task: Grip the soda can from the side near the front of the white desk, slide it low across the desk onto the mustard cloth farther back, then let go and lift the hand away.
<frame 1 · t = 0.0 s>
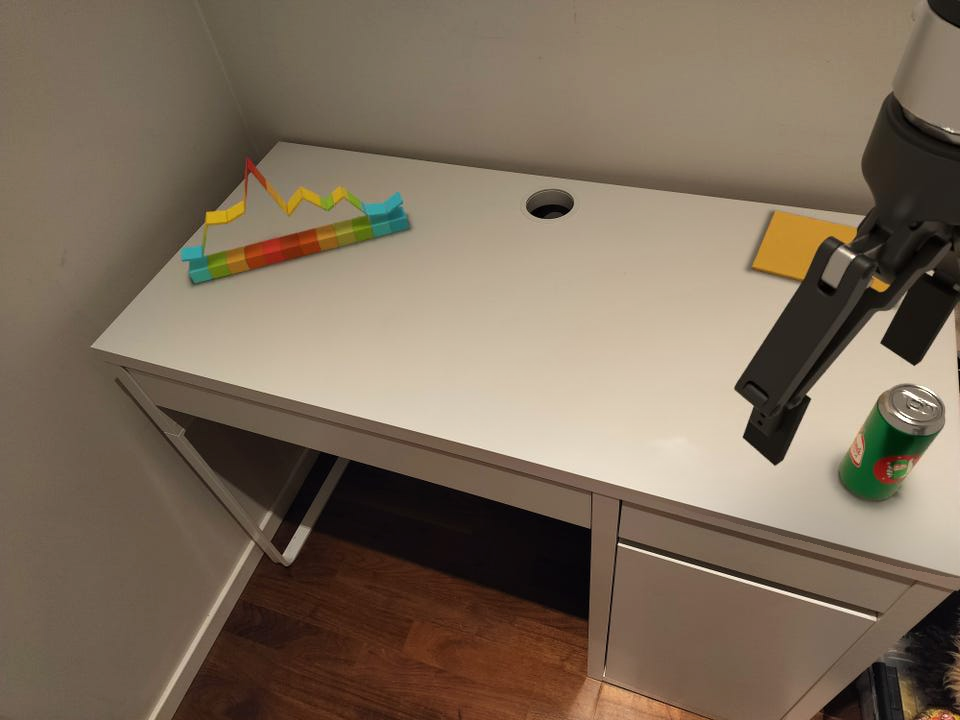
hand: (834, 398, 46), 21 cm above the table, tool pointing down, fingers open, 13 cm apart
cloth: (829, 255, 84), on the table
soda can: (865, 480, 64), on the table
chart: (303, 249, 95), on the table
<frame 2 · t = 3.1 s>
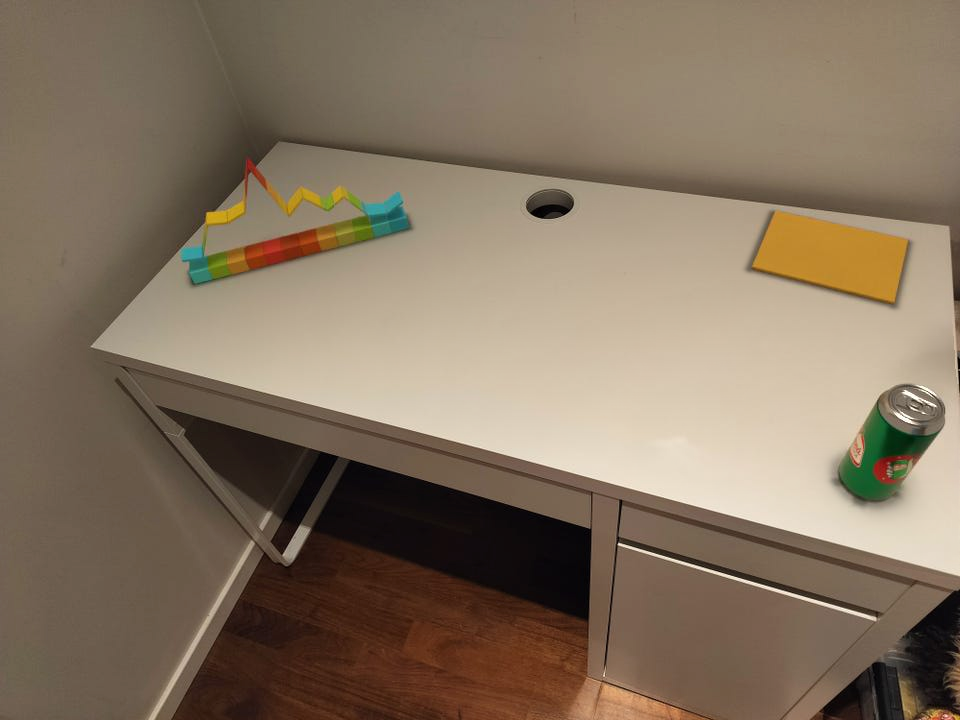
nothing on the table moved.
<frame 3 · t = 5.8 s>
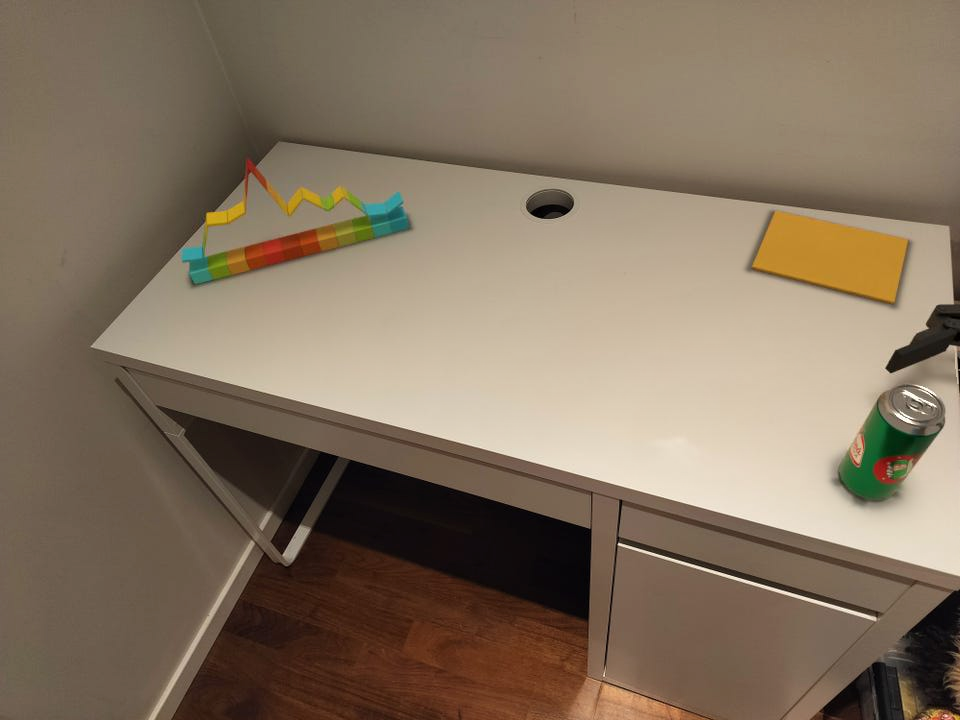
hand: (949, 414, 60), 7 cm above the table, tool horizontal, fingers open, 13 cm apart
nothing on the table moved.
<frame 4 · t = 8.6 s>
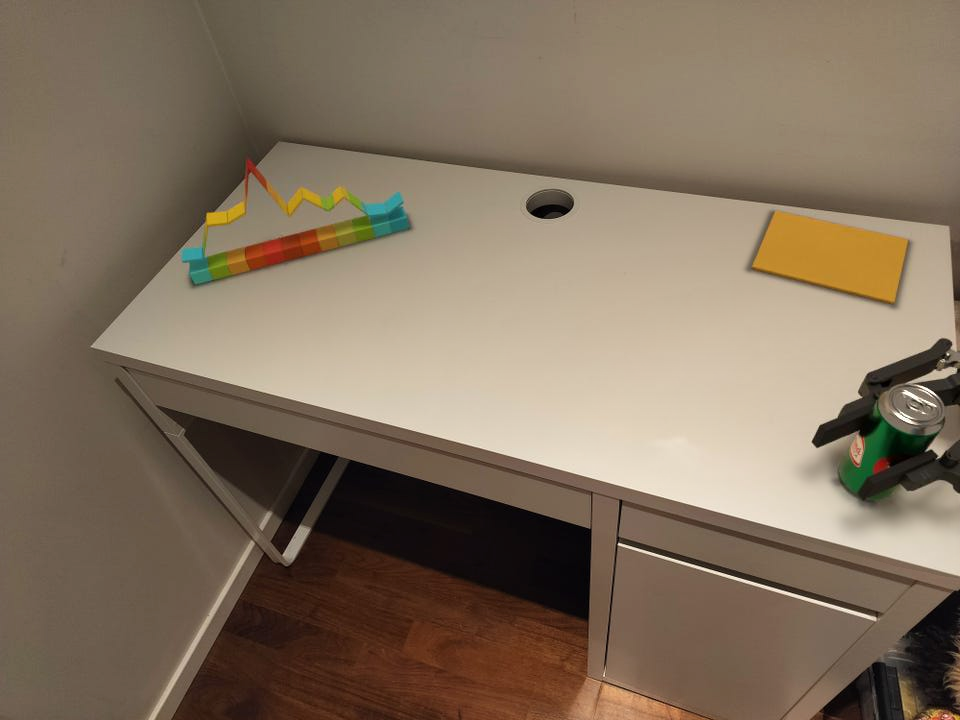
hand: (841, 462, 58), 7 cm above the table, tool horizontal, fingers closed on soda can, 5 cm apart
soda can: (865, 480, 64), on the table, touching gripper
everything else where it was.
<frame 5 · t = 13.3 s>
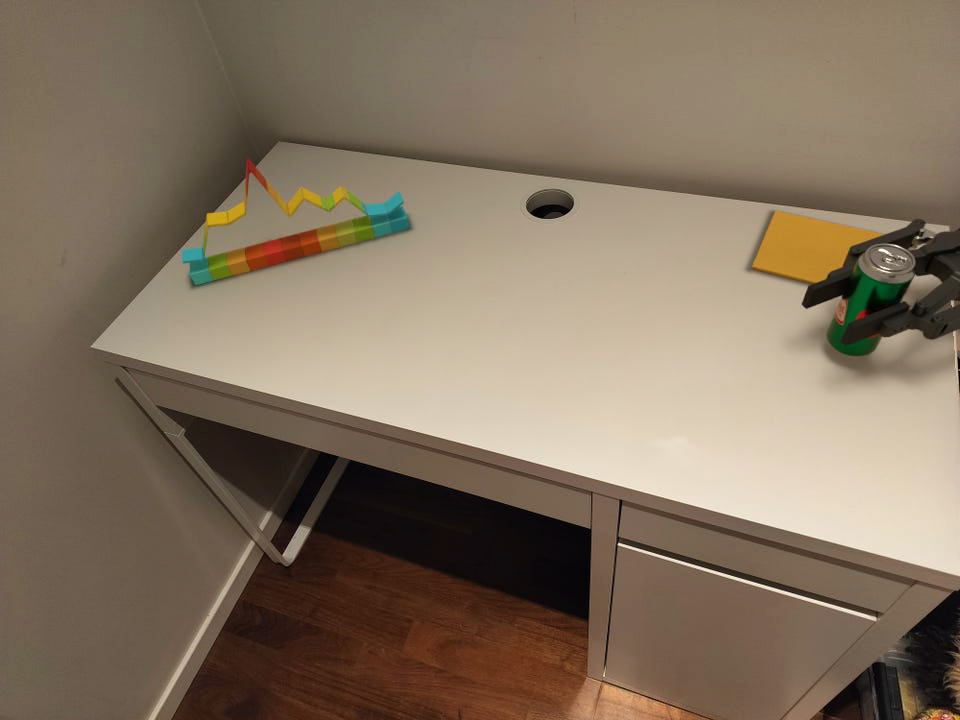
hand: (827, 315, 67), 8 cm above the table, tool horizontal, fingers closed on soda can, 5 cm apart
soda can: (849, 343, 73), point 1 cm above the table, touching gripper
everything else where it was.
when the fingers open (7 cm above the table, at t = 17.9 s): soda can stays where it is, resting on cloth.
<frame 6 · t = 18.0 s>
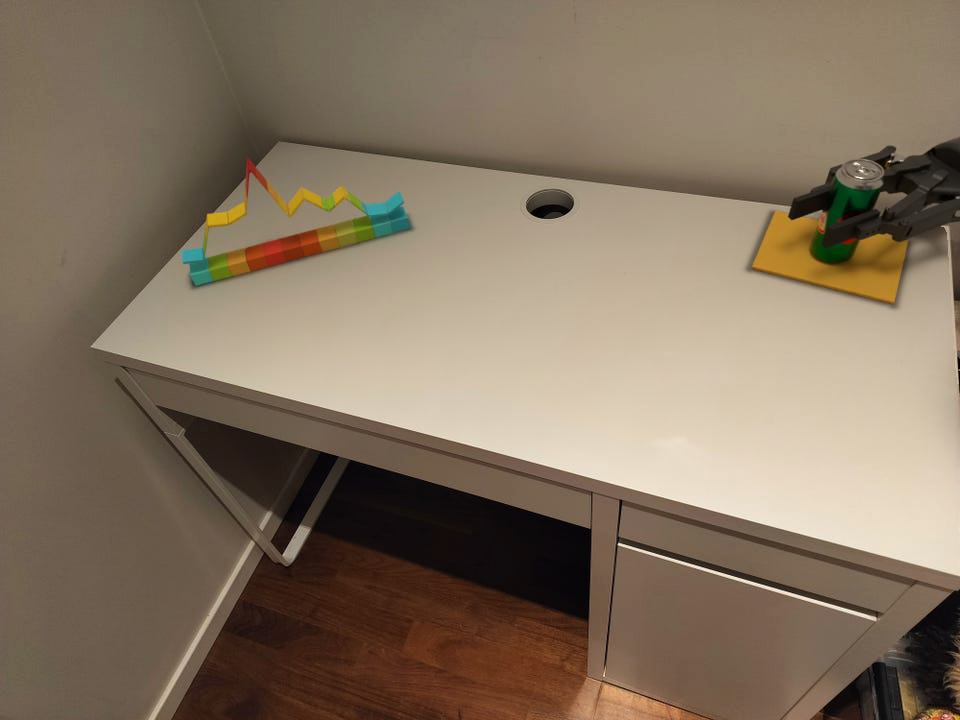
hand: (809, 223, 78), 7 cm above the table, tool horizontal, fingers open, 5 cm apart
soda can: (830, 253, 84), resting on cloth
everything else where it was.
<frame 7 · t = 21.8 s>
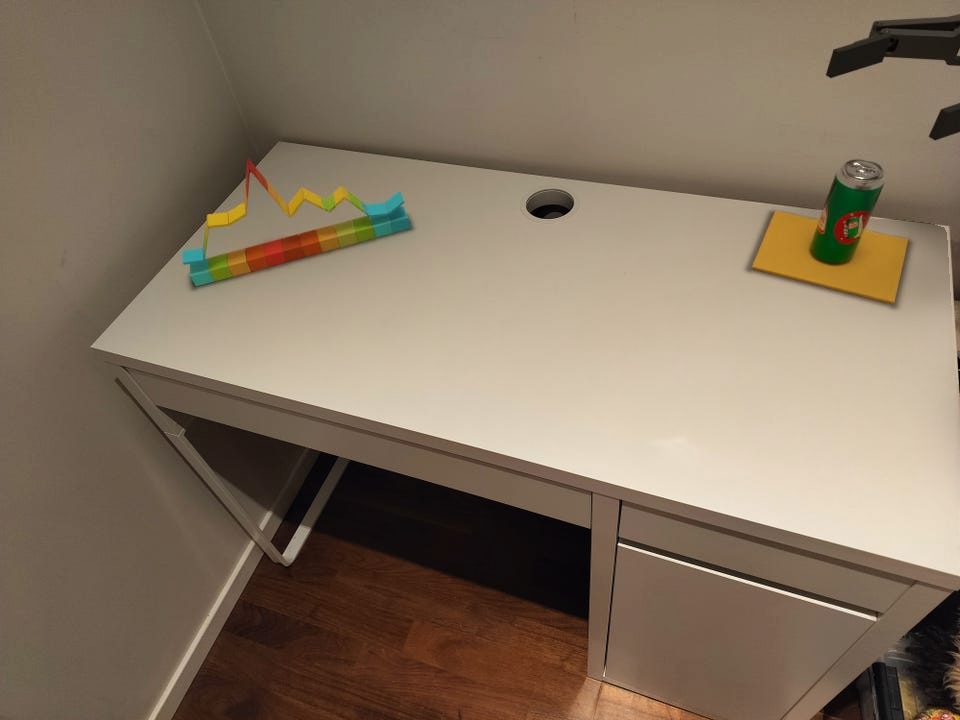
hand: (880, 92, 64), 23 cm above the table, tool horizontal, fingers open, 13 cm apart
nothing on the table moved.
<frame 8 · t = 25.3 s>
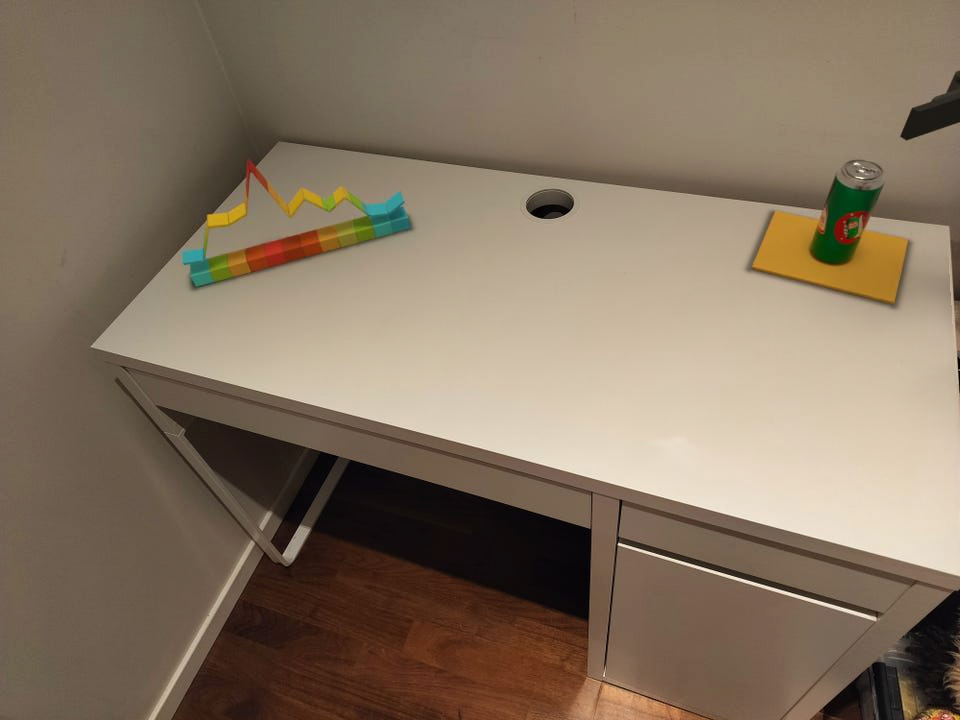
nothing on the table moved.
at the end: soda can inside the target area on the cloth (0.0 cm from its centre), point 0.2 cm above the cloth's base; soda can tilted 0°; the gripper is holding nothing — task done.
